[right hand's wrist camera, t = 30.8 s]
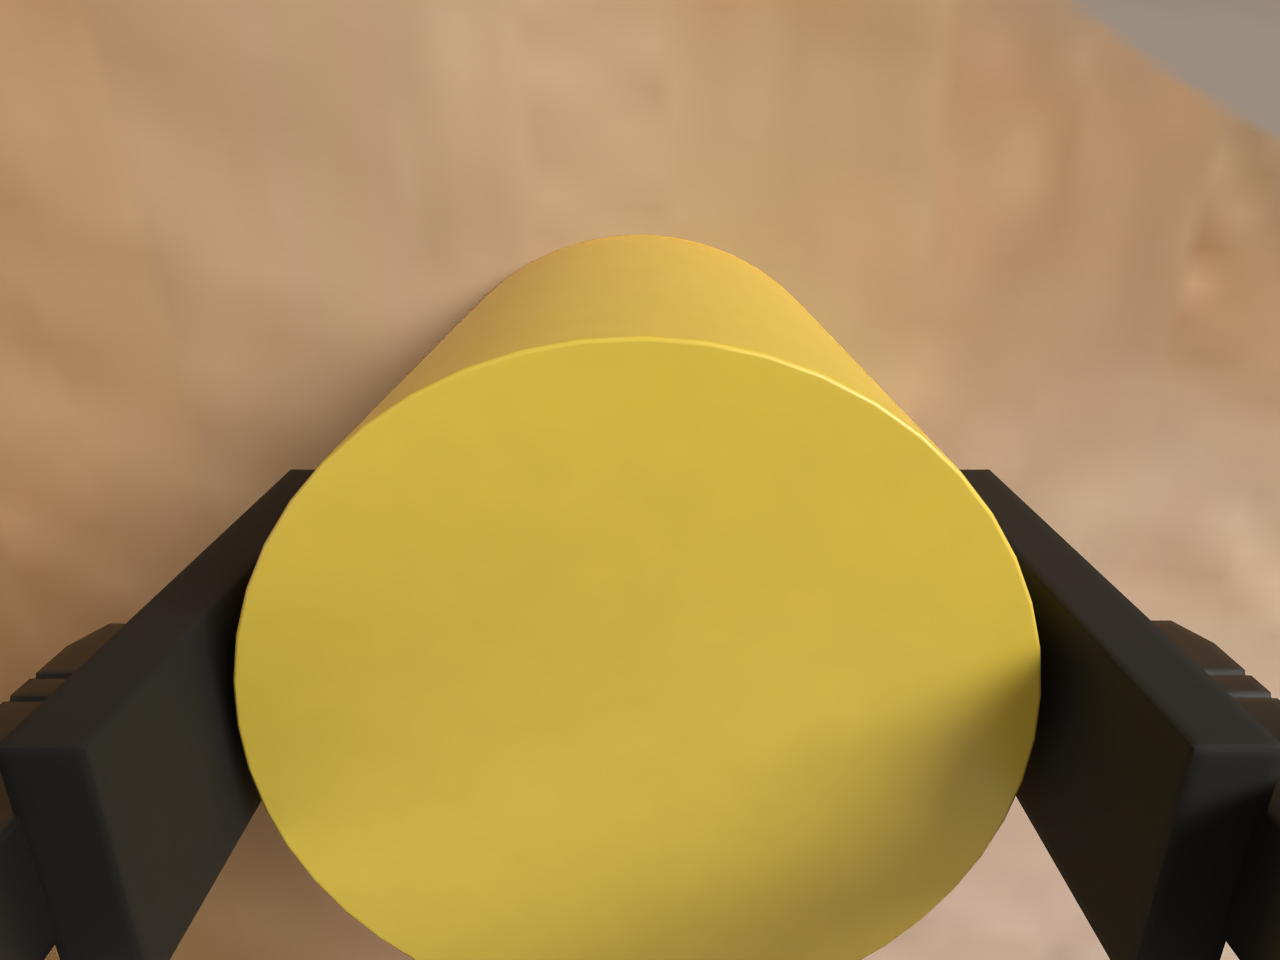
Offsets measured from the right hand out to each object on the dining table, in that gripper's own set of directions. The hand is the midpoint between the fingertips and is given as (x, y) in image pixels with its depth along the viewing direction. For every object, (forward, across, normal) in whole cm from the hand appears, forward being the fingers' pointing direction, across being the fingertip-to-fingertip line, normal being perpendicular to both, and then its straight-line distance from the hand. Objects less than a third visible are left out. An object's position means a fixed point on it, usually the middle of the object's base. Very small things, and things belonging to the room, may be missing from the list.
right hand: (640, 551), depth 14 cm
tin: (+4, 0, 0) cm, 4 cm away
